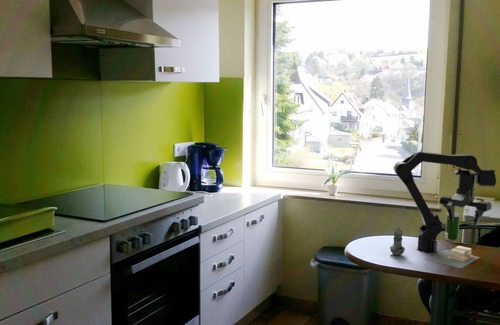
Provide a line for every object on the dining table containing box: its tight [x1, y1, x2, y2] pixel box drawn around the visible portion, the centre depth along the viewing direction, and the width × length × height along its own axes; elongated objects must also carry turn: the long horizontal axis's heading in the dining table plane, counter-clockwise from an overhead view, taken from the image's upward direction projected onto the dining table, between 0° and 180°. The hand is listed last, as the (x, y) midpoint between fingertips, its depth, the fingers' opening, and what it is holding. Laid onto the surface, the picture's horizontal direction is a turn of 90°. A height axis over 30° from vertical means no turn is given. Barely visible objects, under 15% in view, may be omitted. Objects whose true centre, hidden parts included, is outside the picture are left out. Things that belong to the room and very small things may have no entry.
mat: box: [424, 249, 481, 269], centre depth 202 cm, size 14×18×1 cm
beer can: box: [444, 211, 461, 242], centre depth 229 cm, size 5×5×12 cm
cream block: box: [449, 245, 472, 261], centre depth 204 cm, size 8×5×3 cm, turn 136°
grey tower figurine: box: [389, 226, 406, 257], centre depth 204 cm, size 6×6×12 cm
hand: (463, 224), depth 209 cm, fingers open, 9 cm apart
